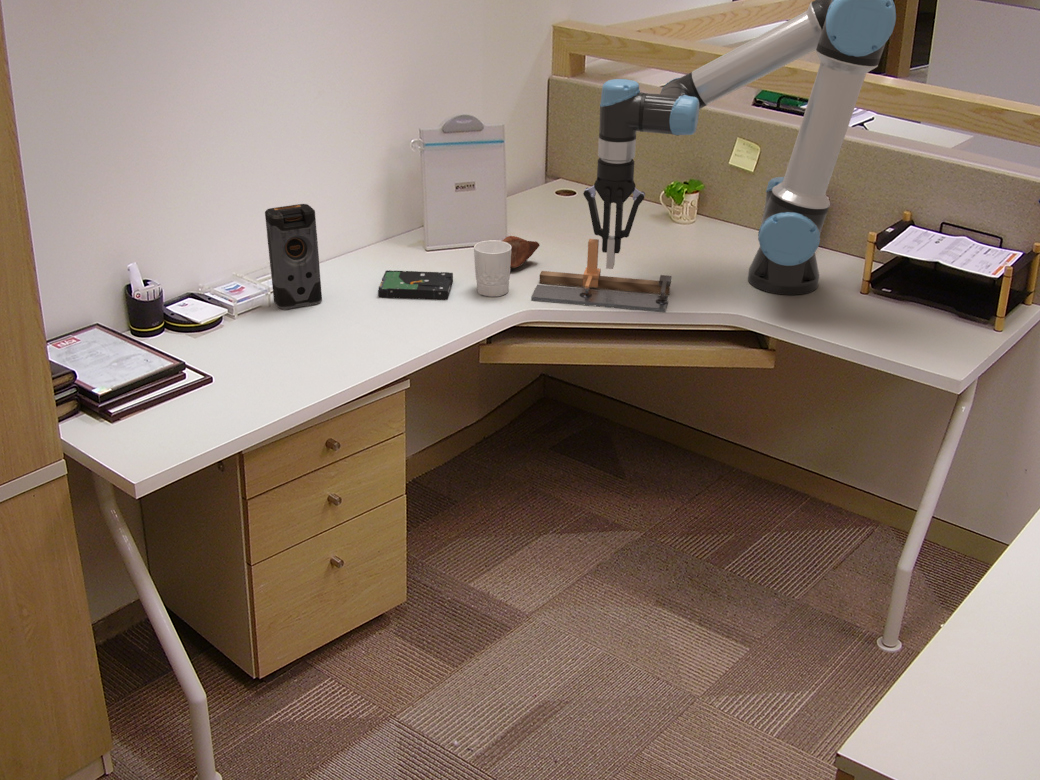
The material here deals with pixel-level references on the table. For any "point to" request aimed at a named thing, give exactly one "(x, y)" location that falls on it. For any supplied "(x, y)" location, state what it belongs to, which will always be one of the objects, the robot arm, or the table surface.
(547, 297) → the metal board
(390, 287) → the disk drive
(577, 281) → the beam
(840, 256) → the table surface
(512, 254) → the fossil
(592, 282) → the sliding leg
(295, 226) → the electronic device
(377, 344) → the table surface
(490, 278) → the white cup
